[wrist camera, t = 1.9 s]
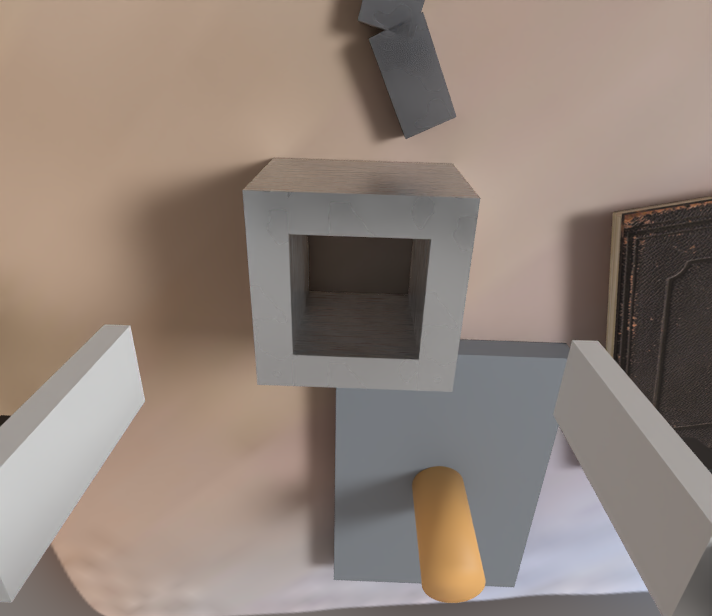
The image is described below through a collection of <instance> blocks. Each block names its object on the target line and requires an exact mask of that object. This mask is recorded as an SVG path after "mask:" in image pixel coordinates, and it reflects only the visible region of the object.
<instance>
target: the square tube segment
mask: <svg viewBox="0 0 712 616" xmlns="http://www.w3.org/2000/svg"><path fill="white" fill-rule="evenodd" d="M243 202H244V215H245V228H246V241H247V254H248V267H249V280H250V293H251V306H252V319H253V332H254V345H255V358H256V372H257V385H281V386H307V387H334V388H361V389H388V390H414V391H441V392H452V391H453V384H454V377H455V370H456V363H457V356H458V349H459V342H460V335H461V328H462V321H463V314H464V308H465V301H466V294H467V287H468V280H469V273H470V266H471V259H472V252H473V245H474V238H475V231H476V224H477V217H478V210H479V203H480V197H479V196H478V195H477V193H476V192H475V191H474V190H473V188H472V187H471V186H470V185H469V183H468V182H467V181H466V180H465V178H464V177H463V176H462V174H461V173H460V172H459V171H458V169H457V168H456V167H455V166H454V164H442V163H412V162H382V161H352V160H322V159H292V158H273V159H272V160H271V161H270V162H269V163H268V164H267V165H266V166H265V167H264V168H263V169H262V170H261V171H260V172H259V173H258V175H257V176H256V177H255V178H254V179H253V180H252V181H251V182H250V183H249V184H248V185H247V186H246V187H245V188H244V189H243ZM308 235H324V236H353V237H382V238H411V239H413V243H412V255H411V267H410V279H409V291H408V295H403V294H375V293H347V292H319V291H309V244H308Z"/></svg>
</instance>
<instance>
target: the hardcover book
mask: <svg viewBox="0 0 712 616" xmlns="http://www.w3.org/2000/svg"><path fill="white" fill-rule="evenodd" d="M606 351H607V352H608V353H609V354H610V356H611V357H612V358H613V359H614V360H615V361H616V363H617V364H618V365H619V366H620V367H621V368H622V370H623V371H624V372H625V373H626V374H627V375H628V377H629V378H630V379H631V380H632V381H633V382H634V384H635V385H636V386H637V387H638V388H639V390H640V391H641V392H642V393H643V394H644V395H645V397H646V398H647V399H648V400H649V401H650V402H651V404H652V405H653V406H654V407H655V408H656V409H657V411H658V412H659V413H660V414H661V415H662V416H663V418H664V419H665V420H666V421H667V422H668V424H669V425H670V426H671V427H672V428H673V429H674V431H675V432H676V433H677V434H678V435H679V436H680V437H694V438H695V439H697V440H698V441H699V442H701V443H702V444H704V445H705V446H707V447H708V448H710V449H711V450H712V196H710V197H704V198H698V199H692V200H685V201H679V202H673V203H667V204H661V205H655V206H649V207H643V208H637V209H631V210H625V211H619V212H613V217H612V237H611V256H610V276H609V295H608V314H607V334H606Z"/></svg>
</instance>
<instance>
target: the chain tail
mask: <svg viewBox="0 0 712 616" xmlns="http://www.w3.org/2000/svg"><path fill="white" fill-rule="evenodd" d="M424 1H425V0H363V1H362V5H361V9H360V13H359V17H358V22H361V23H363V24H366V25H369V26H372V27H375V28H378V29H381V30H384V31H383V32H381V33H379V34H377V35H375V36H373V37H371V38H369V42H370V44H371V47H372V50H373V53H374V55H375V58H376V61H377V63H378V66H379V69H380V71H381V74H382V77H383V80H384V82H385V85H386V88H387V90H388V93H389V96H390V99H391V101H392V104H393V107H394V109H395V112H396V115H397V117H398V120H399V123H400V126H401V128H402V131H403V134H404V136H405V138H406V139H407V138H409V137H412V136H414V135H416V134H418V133H421V132H423V131H425V130H428V129H430V128H432V127H434V126H437V125H439V124H441V123H443V122H446V121H448V120H450V119H453V118H455V117H456V114H455V111H454V108H453V105H452V101H451V98H450V95H449V92H448V89H447V86H446V83H445V79H444V76H443V73H442V70H441V67H440V64H439V61H438V58H437V54H436V51H435V48H434V45H433V42H432V39H431V36H430V33H429V29H428V26H427V23H426V20H425V17H424V14H423V12H422V13H421V11H422V7H423V4H424Z"/></svg>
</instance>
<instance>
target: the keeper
mask: <svg viewBox="0 0 712 616" xmlns="http://www.w3.org/2000/svg"><path fill="white" fill-rule="evenodd" d="M569 350H570V348H569V347H568V345H567V344H566V343H542V342H514V341H487V340H460V342H459V349H458V356H457V363H456V370H455V377H454V384H453V391H452V392H441V391H414V390H388V389H361V388H336V446H335V529H334V580H350V581H375V582H399V583H422V588H423V590H424V592H425V593H426V594H427V595H428V596H429V597H431V598H433V599H435V600H437V601H441V602H446V603H458V602H464V601H467V600H470V599H472V598H474V597H476V596H477V595H479V594H480V593H481V592H482V590H483V589H484V587H485V586H498V587H514V586H515V582H516V578H517V575H518V571H519V567H520V564H521V560H522V556H523V553H524V549H525V546H526V542H527V538H528V535H529V531H530V527H531V524H532V520H533V516H534V513H535V509H536V506H537V502H538V498H539V495H540V491H541V487H542V484H543V480H544V476H545V473H546V469H547V466H548V462H549V458H550V455H551V451H552V447H553V444H554V440H555V436H556V433H557V429H558V426H559V425H558V423H557V421H556V419H555V417H554V415H553V413H554V409H555V405H556V402H557V398H558V394H559V390H560V386H561V382H562V378H563V374H564V370H565V366H566V362H567V358H568V354H569Z"/></svg>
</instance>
